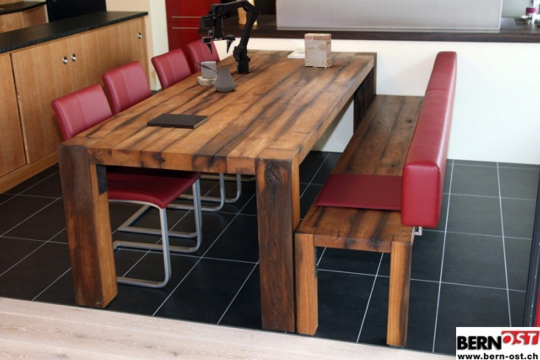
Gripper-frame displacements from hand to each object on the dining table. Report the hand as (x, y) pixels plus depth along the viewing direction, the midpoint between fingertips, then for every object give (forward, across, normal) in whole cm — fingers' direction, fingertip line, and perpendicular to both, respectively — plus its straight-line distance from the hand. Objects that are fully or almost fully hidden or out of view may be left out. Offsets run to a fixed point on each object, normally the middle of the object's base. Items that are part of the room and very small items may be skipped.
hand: (219, 54), depth 404 cm
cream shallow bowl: (+13, +10, +15) cm, 22 cm away
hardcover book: (+14, +42, +92) cm, 102 cm away
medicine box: (+10, +10, +15) cm, 21 cm away
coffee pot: (+13, +11, +35) cm, 39 cm away
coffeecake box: (+13, -61, -1) cm, 62 cm away
